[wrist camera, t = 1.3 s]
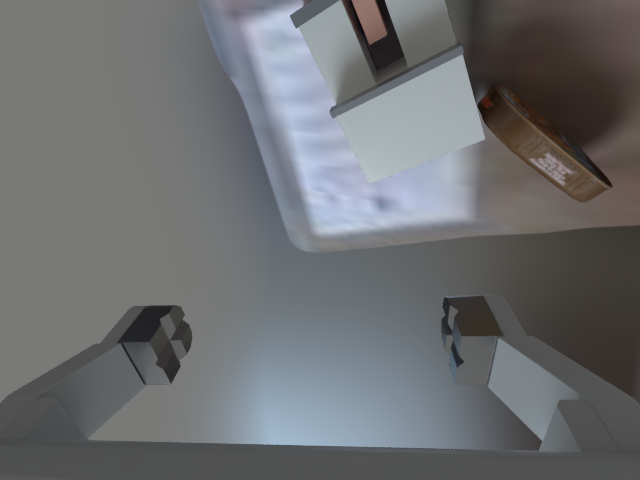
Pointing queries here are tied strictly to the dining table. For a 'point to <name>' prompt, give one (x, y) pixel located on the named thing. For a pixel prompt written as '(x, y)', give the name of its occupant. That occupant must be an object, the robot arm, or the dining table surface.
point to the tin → (541, 144)
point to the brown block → (371, 19)
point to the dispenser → (394, 84)
